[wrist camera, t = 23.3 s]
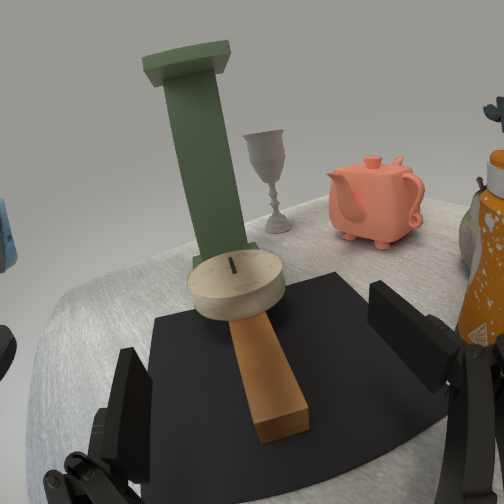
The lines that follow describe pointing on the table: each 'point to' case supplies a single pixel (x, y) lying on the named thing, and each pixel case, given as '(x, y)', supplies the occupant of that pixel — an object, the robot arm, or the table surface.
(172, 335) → the black mat
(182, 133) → the post
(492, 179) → the canister
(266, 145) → the chalice
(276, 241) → the table surface
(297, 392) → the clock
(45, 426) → the table surface
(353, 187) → the teapot
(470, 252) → the fruit
